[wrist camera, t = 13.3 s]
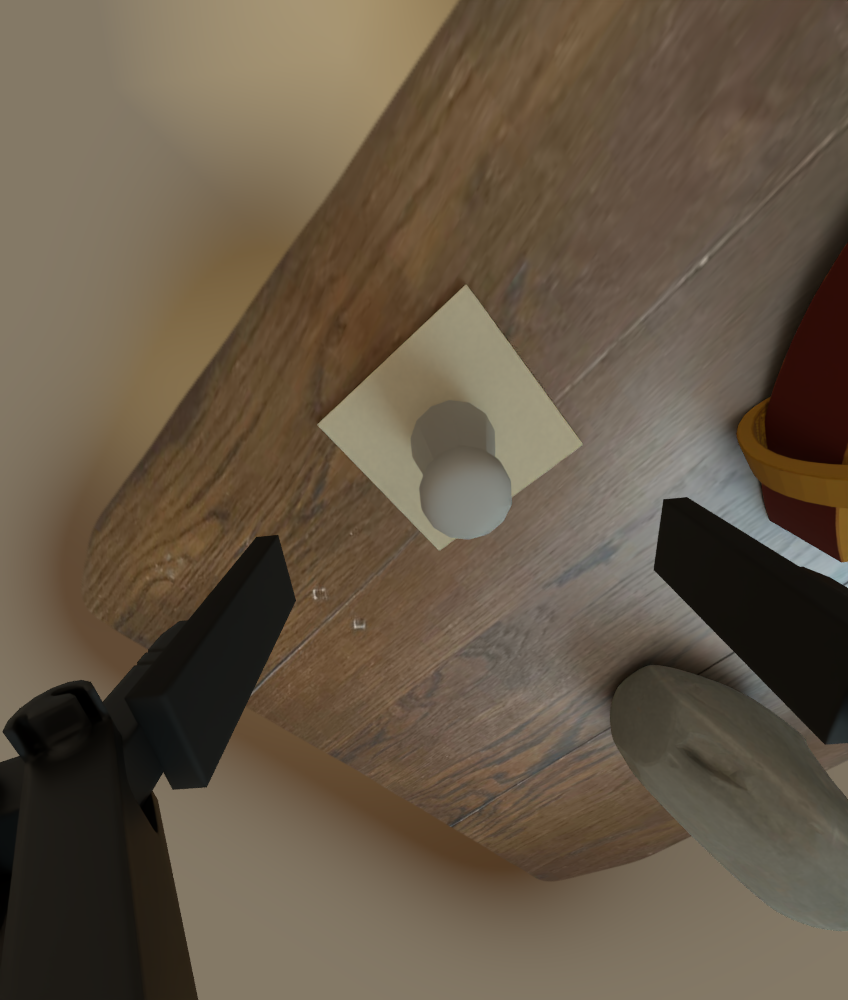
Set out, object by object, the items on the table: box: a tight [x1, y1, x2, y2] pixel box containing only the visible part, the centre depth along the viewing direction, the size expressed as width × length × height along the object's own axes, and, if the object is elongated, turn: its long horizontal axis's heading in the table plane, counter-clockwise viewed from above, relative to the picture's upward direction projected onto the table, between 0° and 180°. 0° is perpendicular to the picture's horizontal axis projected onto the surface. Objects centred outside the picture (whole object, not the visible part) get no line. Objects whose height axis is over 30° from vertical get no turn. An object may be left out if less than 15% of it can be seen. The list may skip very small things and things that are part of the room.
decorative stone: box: [610, 665, 848, 931], centre depth 33 cm, size 12×17×15 cm
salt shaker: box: [411, 400, 512, 539], centre depth 23 cm, size 6×6×13 cm
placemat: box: [317, 284, 583, 551], centre depth 30 cm, size 14×14×1 cm
